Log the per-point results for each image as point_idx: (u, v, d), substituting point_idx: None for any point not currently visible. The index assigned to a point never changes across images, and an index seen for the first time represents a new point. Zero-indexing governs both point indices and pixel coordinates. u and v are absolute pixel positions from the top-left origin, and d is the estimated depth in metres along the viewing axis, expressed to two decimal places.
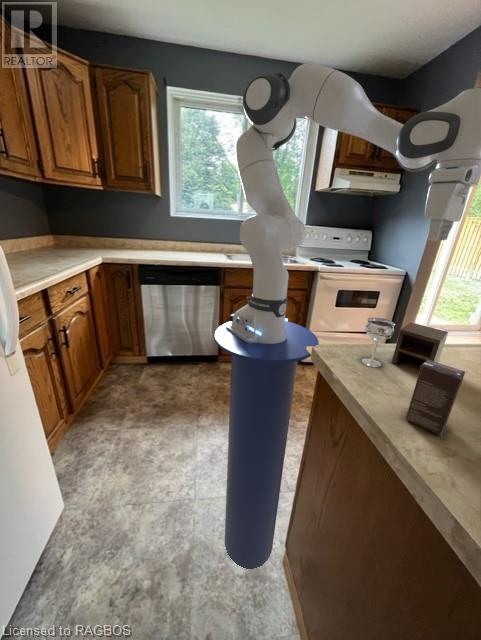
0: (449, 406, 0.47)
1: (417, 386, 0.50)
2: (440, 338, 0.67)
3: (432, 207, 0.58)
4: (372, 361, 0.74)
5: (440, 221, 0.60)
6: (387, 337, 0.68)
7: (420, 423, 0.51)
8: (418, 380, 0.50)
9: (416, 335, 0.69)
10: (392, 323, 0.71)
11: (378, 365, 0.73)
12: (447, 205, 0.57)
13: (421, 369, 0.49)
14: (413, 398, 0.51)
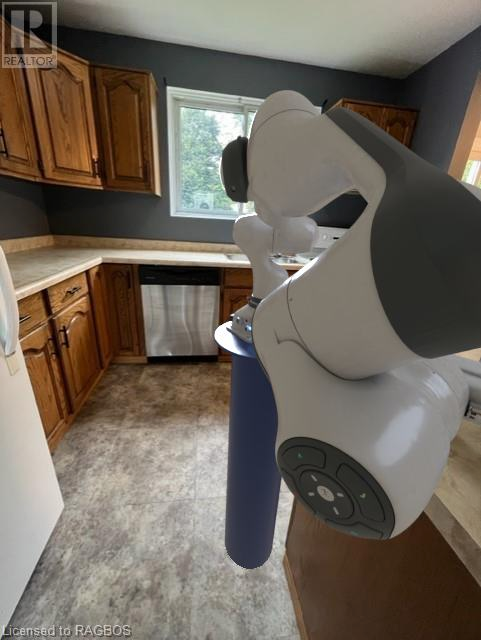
0: None
1: None
2: None
3: None
4: None
5: None
6: None
7: None
8: None
9: None
10: None
11: None
12: None
13: None
14: None
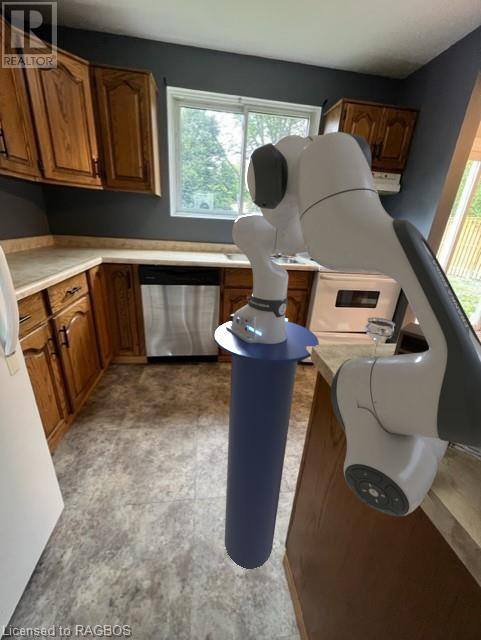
0: None
1: None
2: None
3: None
4: None
5: None
6: (387, 337, 0.68)
7: None
8: None
9: (416, 335, 0.69)
10: (392, 323, 0.71)
11: None
12: None
13: None
14: None
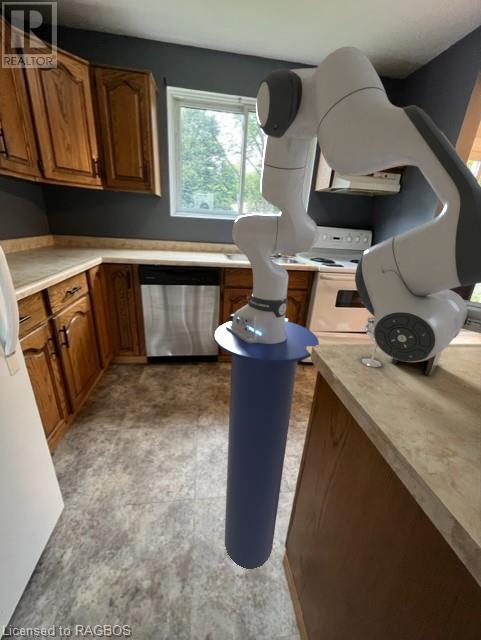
0: None
1: None
2: None
3: None
4: (372, 361, 0.74)
5: None
6: None
7: None
8: None
9: None
10: None
11: (378, 365, 0.73)
12: None
13: None
14: None
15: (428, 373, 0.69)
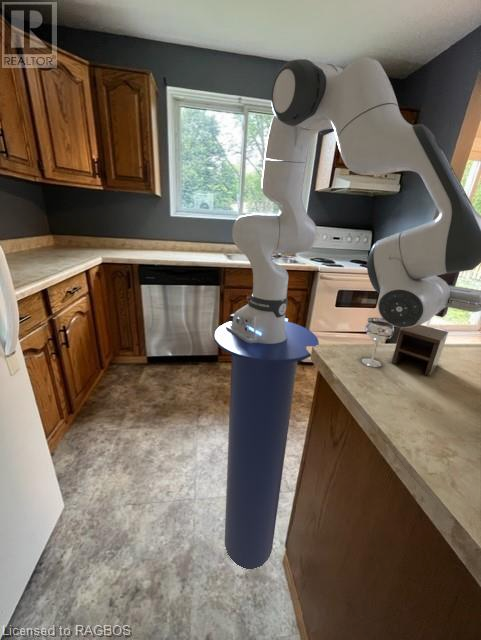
0: None
1: None
2: (440, 338, 0.67)
3: None
4: (372, 361, 0.74)
5: None
6: (387, 337, 0.68)
7: None
8: None
9: (416, 335, 0.69)
10: None
11: (378, 365, 0.73)
12: None
13: None
14: None
15: (428, 373, 0.69)
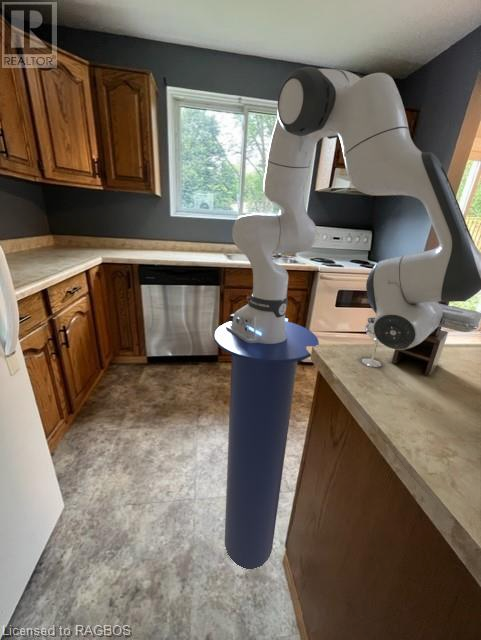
0: None
1: None
2: (440, 338, 0.67)
3: None
4: (372, 361, 0.74)
5: None
6: None
7: None
8: None
9: None
10: None
11: (378, 365, 0.73)
12: None
13: None
14: None
15: (428, 373, 0.69)
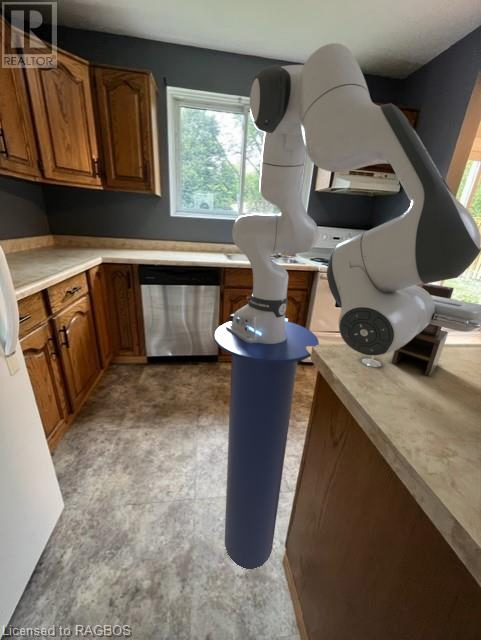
0: None
1: None
2: (440, 338, 0.67)
3: None
4: (372, 361, 0.74)
5: None
6: None
7: None
8: None
9: (416, 335, 0.69)
10: None
11: (378, 365, 0.73)
12: None
13: None
14: None
15: (428, 373, 0.69)
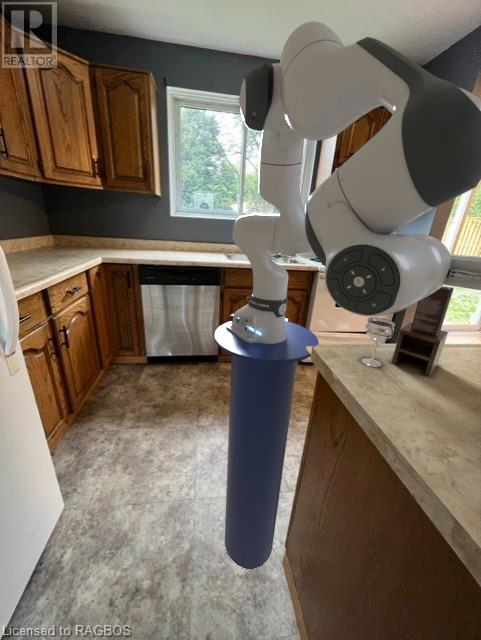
0: (442, 311, 0.66)
1: (419, 301, 0.69)
2: (440, 338, 0.67)
3: None
4: (372, 361, 0.74)
5: None
6: (387, 337, 0.68)
7: (422, 329, 0.70)
8: None
9: (416, 335, 0.69)
10: (392, 323, 0.71)
11: (378, 365, 0.73)
12: None
13: None
14: (416, 311, 0.70)
15: (428, 373, 0.69)
